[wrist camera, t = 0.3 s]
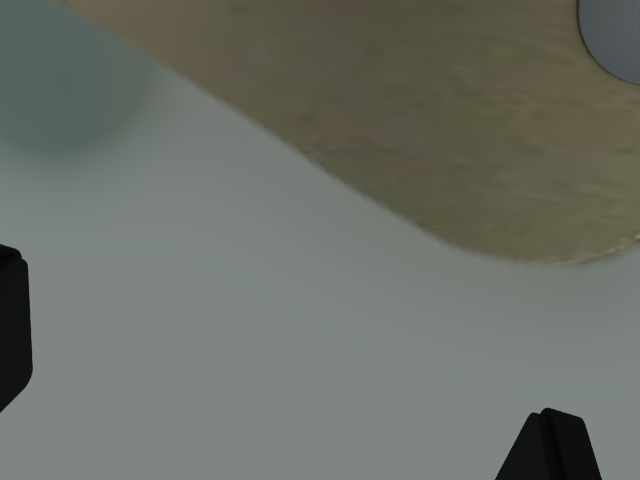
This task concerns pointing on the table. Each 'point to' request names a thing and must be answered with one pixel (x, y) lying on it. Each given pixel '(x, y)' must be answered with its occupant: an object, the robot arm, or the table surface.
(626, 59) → the slate coaster
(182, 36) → the table surface
